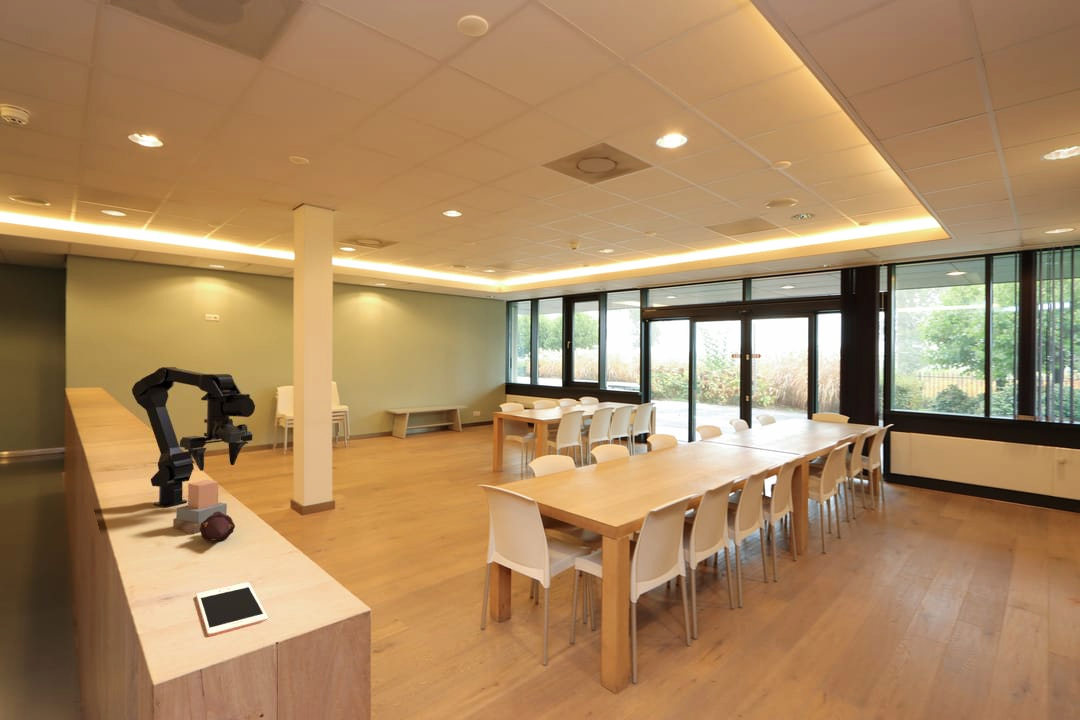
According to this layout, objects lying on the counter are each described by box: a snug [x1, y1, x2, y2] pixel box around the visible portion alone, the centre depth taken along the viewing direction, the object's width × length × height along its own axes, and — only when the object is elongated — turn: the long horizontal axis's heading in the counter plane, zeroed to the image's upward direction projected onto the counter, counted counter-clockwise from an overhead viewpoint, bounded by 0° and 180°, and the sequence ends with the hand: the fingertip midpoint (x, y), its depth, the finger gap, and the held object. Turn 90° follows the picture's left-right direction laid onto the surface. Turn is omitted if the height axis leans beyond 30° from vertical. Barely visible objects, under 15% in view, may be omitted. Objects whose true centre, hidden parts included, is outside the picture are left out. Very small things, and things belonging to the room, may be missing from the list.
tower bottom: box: [172, 514, 230, 535], centre depth 137 cm, size 9×9×3 cm
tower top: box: [175, 501, 228, 523], centre depth 137 cm, size 8×8×3 cm
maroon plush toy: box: [200, 511, 236, 543], centre depth 127 cm, size 7×7×15 cm
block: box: [187, 479, 219, 509], centre depth 138 cm, size 5×5×6 cm
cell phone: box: [195, 581, 269, 637], centre depth 93 cm, size 9×18×1 cm, turn 39°
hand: (217, 467), depth 154 cm, fingers open, 9 cm apart
